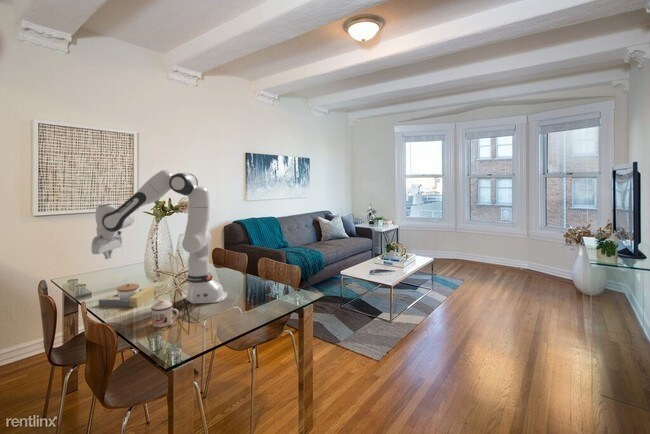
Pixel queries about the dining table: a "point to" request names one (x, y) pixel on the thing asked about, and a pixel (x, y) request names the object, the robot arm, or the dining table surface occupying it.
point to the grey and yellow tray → (131, 298)
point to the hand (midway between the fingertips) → (108, 258)
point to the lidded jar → (127, 291)
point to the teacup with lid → (162, 313)
